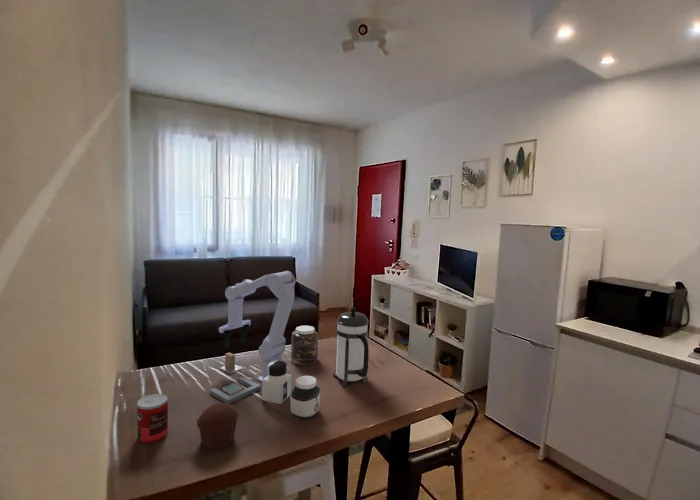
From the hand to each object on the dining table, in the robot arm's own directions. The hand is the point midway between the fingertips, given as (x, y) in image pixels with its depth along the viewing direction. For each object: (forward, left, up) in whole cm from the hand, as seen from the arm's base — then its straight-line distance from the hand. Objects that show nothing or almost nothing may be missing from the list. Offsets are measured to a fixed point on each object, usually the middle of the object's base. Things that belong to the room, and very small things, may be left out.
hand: (235, 344), depth 149 cm
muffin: (-37, +32, -10) cm, 50 cm away
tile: (-16, +12, -10) cm, 22 cm away
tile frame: (-16, +12, -10) cm, 23 cm away
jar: (-17, -25, -10) cm, 32 cm away
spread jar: (-45, +5, -10) cm, 46 cm away
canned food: (-21, +43, -10) cm, 49 cm away
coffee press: (-45, -24, -10) cm, 52 cm away
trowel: (0, +2, -10) cm, 10 cm away
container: (-32, +5, -10) cm, 34 cm away
